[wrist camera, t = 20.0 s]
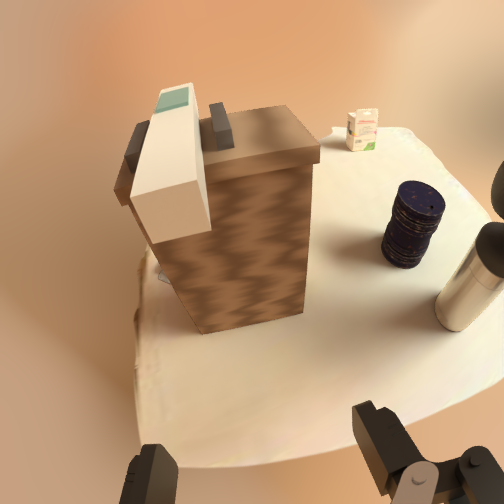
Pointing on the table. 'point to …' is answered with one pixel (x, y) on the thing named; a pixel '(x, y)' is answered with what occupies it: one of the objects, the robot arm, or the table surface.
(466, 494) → the robot arm
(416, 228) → the dark blue cylinder
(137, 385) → the table surface
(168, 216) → the bar
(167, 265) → the tall stand
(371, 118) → the ink box
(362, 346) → the table surface
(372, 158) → the table surface
